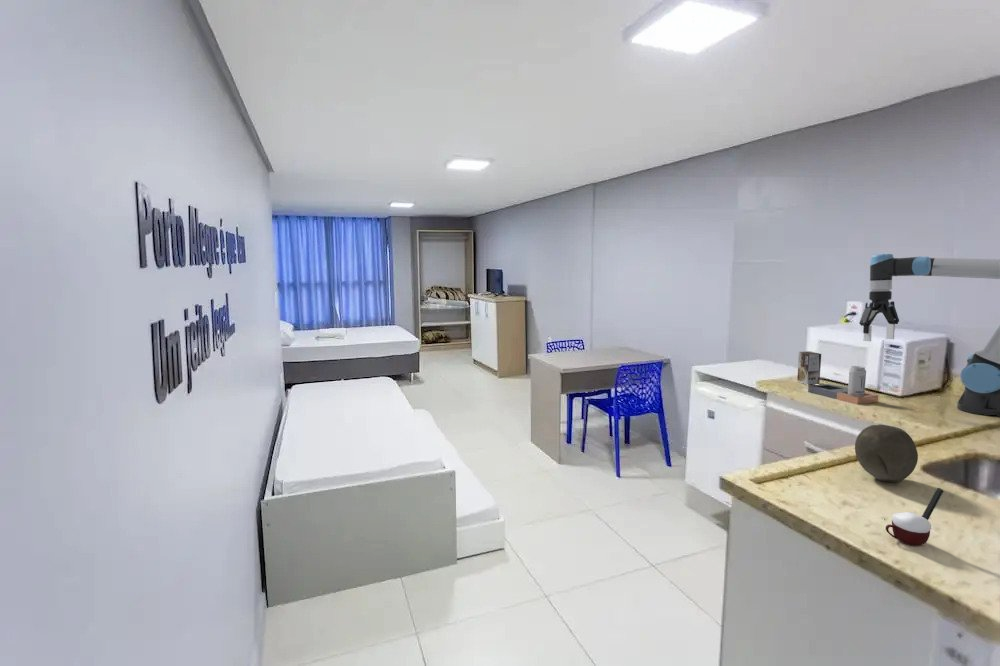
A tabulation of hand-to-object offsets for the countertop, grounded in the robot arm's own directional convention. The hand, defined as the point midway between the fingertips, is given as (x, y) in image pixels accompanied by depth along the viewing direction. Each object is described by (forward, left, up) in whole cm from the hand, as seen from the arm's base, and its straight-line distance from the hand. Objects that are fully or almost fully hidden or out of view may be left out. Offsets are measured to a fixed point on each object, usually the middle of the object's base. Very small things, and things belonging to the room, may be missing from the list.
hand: (878, 340), depth 210 cm
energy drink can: (+4, -5, -28) cm, 28 cm away
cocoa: (+105, +84, -28) cm, 138 cm away
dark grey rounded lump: (+78, +59, -28) cm, 102 cm away
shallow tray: (+4, -12, -27) cm, 30 cm away
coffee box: (-6, -38, -28) cm, 47 cm away
